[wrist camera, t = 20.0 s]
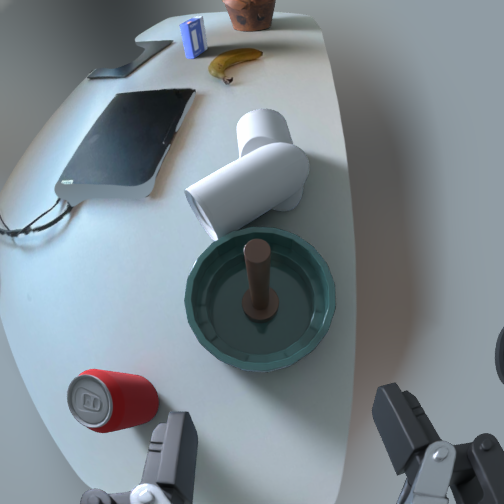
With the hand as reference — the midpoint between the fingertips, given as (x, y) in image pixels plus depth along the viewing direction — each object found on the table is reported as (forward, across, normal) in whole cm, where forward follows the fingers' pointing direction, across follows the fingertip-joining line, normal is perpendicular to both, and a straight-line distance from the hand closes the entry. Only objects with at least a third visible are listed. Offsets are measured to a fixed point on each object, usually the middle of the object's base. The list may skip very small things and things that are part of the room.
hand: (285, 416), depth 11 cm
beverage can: (+17, +17, +17) cm, 30 cm away
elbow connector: (+38, 0, -4) cm, 38 cm away
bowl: (+25, 0, +9) cm, 26 cm away
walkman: (+77, +10, -43) cm, 89 cm away
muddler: (+24, 0, +8) cm, 25 cm away
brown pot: (+91, -8, -57) cm, 108 cm away
